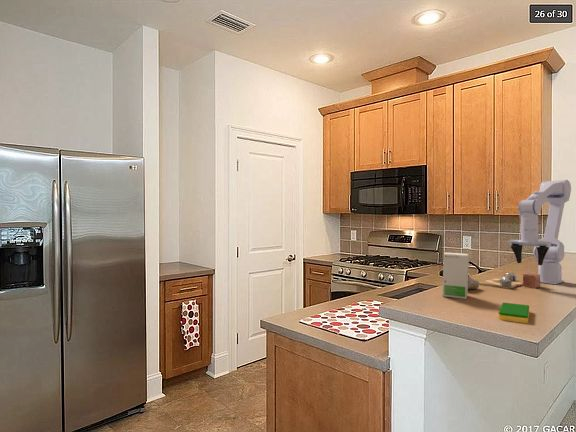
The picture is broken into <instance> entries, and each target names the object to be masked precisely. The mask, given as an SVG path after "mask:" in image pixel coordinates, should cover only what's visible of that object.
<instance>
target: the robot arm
mask: <svg viewBox="0 0 576 432" xmlns="http://www.w3.org/2000/svg"><path fill="white" fill-rule="evenodd" d="M571 193H572V185H571V182H570V180H568V179H562V180H543V181H542V182H541V183H540V186H539V190H536V191H533V192H532V194H531V195H529V196H528V197H527V198H526V199H522V200H521V201H519V203H518V206H517V210H518V213H519V219H520V239H509V240H508V243H509V244H508V245H511V246H510V249H511V250H512V251H513V253H514V256H515V260H516V263H517V264H522V250H523V246H528V247H529V246H530V247H533V250H532V253H533V256H534V258H535V259H536V261H537V265H538V266H537V267H538V269H537V270H538V272H537V274H539V275H540V283H543V284H548V285H549V284H550V285H558V284H561V283H563V282H565V280H562V278H563V277H562V275H563V274H562V273H563V272H562V270H563V268H562V265H561V261H563V260H564V258H565V245H564V243H563V242H561V241H560V240H559V239H558V238H559V234H560V230H561V229H560V228H561V224H562V219H563V218H562V217H563V213H564V207H565V203H567V202H569V201H570V198H571ZM545 203H549V210H548V215H547V220H546V225H545V230H544V234H543V237H542V238H540V239H539V214H541V211H542V208H543V206H544V204H545Z"/></svg>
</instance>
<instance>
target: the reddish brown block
mask: <svg viewBox="0 0 576 432" xmlns="http://www.w3.org/2000/svg"><path fill="white" fill-rule="evenodd" d="M522 281H523V285H522V287H523V286H525V288H530V287H531V288H532V289H538V288H540V287H541V282H540V275H539V274H538V273H530V272H527V273H526V272H525V273H524V274H522Z"/></svg>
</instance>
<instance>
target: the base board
mask: <svg viewBox="0 0 576 432" xmlns="http://www.w3.org/2000/svg"><path fill="white" fill-rule="evenodd" d="M501 278H502V277H495V278H491V279H487V280H482V281H479V286H480V285H481V286H488V287H494V288H500V289H507V290H510V289H513V288H517V287H520V285H521V286H523V280H517V279H516V281H511V286H501V285H500V279H501Z"/></svg>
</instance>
